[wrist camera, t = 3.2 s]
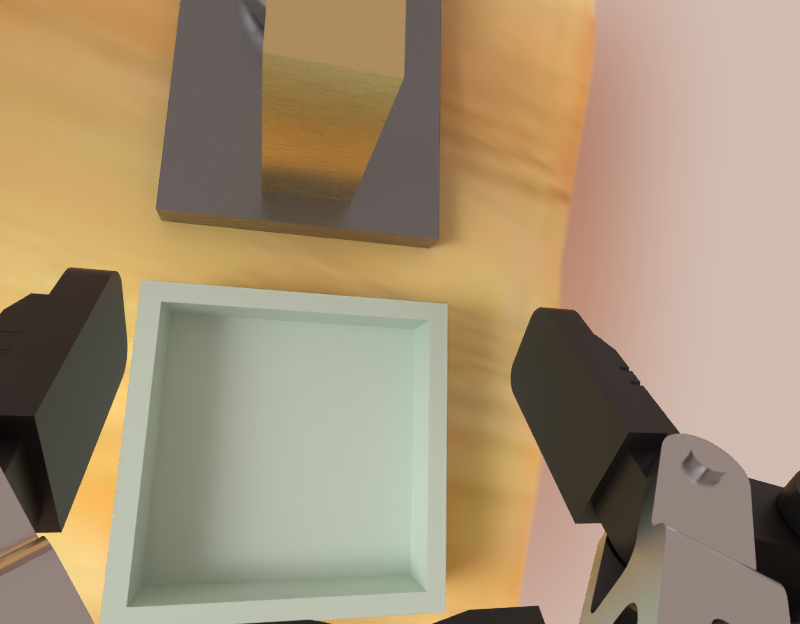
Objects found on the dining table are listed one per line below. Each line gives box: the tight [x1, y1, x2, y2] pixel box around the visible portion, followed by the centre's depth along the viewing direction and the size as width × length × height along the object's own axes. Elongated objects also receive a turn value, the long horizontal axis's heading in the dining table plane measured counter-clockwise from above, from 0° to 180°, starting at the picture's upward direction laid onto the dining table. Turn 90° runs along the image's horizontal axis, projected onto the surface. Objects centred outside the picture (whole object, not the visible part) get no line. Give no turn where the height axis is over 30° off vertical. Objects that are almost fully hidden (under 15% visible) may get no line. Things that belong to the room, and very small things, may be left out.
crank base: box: [156, 0, 441, 248], centre depth 24 cm, size 13×18×10 cm
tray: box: [99, 280, 448, 624], centre depth 23 cm, size 13×13×4 cm
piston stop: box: [262, 0, 406, 202], centre depth 21 cm, size 4×4×10 cm
